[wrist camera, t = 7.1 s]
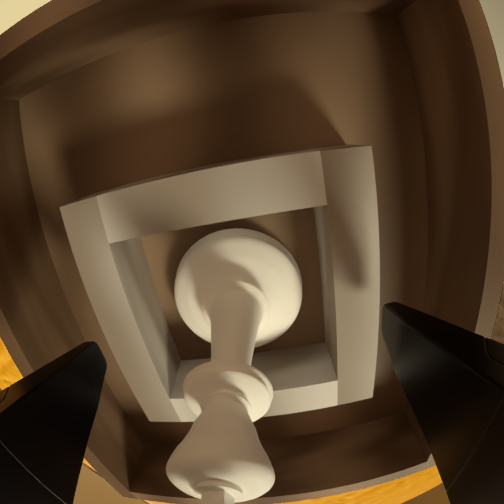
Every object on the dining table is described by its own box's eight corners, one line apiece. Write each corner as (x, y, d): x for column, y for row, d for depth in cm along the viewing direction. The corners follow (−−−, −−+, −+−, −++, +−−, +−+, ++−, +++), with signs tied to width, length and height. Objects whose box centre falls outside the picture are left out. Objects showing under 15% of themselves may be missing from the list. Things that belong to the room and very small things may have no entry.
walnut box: (401, 5, 9) (461, -40, 4) (411, 405, 16) (438, 463, 11) (16, 91, 10) (-58, 87, 5) (140, 438, 17) (123, 496, 12)
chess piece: (155, 254, 11) (-6, 488, 2) (278, 208, 11) (372, 514, 1) (206, 352, 13) (166, 579, 4) (315, 320, 12) (381, 565, 3)
